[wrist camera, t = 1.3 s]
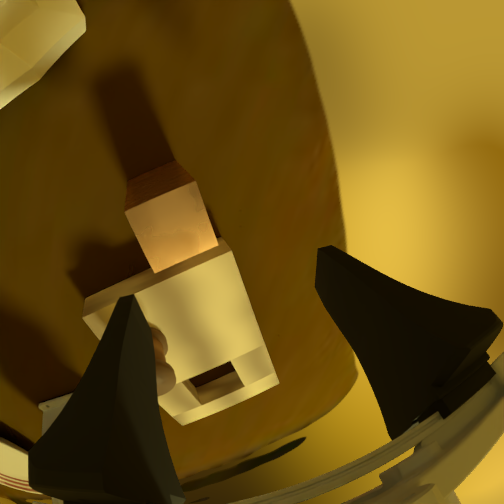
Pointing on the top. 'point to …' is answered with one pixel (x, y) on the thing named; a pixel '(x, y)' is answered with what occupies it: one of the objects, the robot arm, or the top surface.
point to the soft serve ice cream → (34, 40)
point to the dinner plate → (14, 466)
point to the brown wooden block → (168, 216)
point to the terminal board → (195, 331)
